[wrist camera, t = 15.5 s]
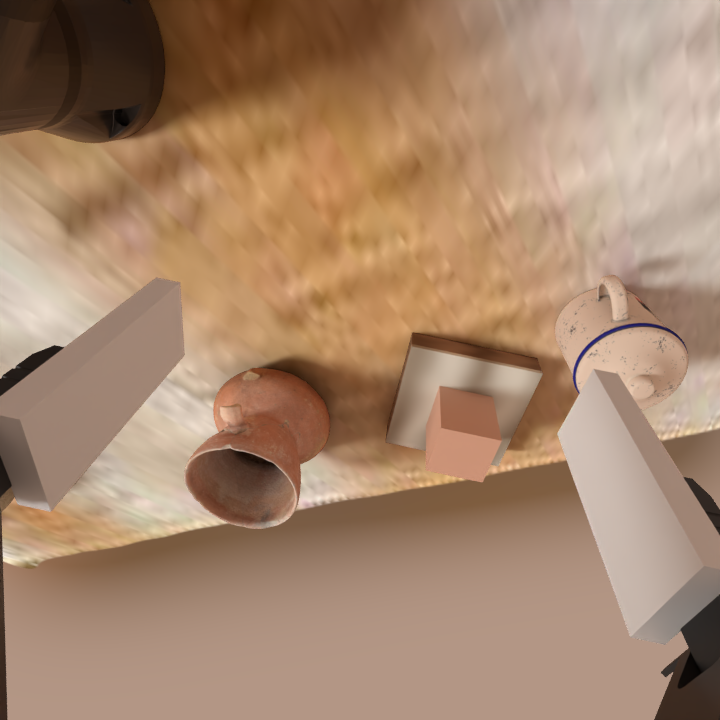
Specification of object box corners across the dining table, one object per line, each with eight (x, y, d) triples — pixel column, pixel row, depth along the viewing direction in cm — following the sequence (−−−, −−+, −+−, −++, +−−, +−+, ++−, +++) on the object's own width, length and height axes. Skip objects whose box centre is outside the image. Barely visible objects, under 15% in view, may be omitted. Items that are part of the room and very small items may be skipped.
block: (425, 426, 53) (425, 470, 47) (439, 385, 49) (441, 428, 44) (476, 436, 53) (482, 482, 47) (493, 397, 49) (501, 440, 44)
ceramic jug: (206, 350, 55) (144, 430, 43) (321, 346, 52) (289, 429, 40) (246, 457, 64) (204, 545, 53) (345, 457, 62) (324, 551, 50)
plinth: (387, 426, 57) (385, 442, 55) (412, 332, 50) (411, 346, 47) (495, 448, 57) (498, 466, 55) (537, 358, 50) (542, 373, 47)
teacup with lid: (647, 351, 47) (704, 423, 38) (556, 368, 50) (587, 440, 40) (646, 244, 42) (713, 296, 32) (543, 269, 44) (576, 325, 34)
